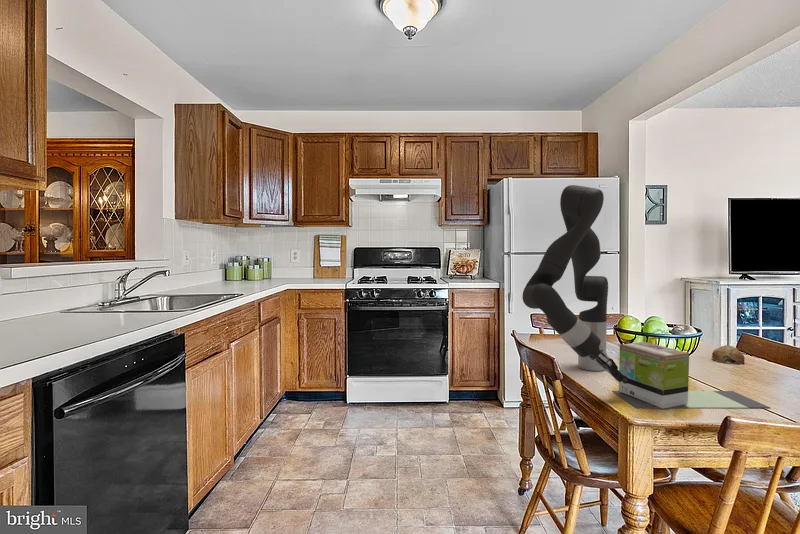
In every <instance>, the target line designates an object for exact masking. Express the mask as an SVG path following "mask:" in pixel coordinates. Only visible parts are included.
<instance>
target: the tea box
mask: <svg viewBox="0 0 800 534" xmlns="http://www.w3.org/2000/svg"><path fill="white" fill-rule="evenodd" d="M618 365H619V366H618V370H619V371H620V372H621V373H622V374H623V375H624V376H625V378H624V379H623V380H622V381H621V382H618V391H619V392H622V393H625V394H628V395H630V396H633V397H635V398H638V399H640V400H643V401H645V402H648V403H650V404H652V405H655V406H657V407H659V408H658V409H670V408H669V407H674V406H680V405H685V404H687V403H688V391H689V380H690V379H689V375H690V352H687V351H683V350H679V349H675V348H671V347H667V346H662V345H658V344H655V343H650V342H646V341H640V342H631V343H623V344H620V343H619V364H618Z"/></svg>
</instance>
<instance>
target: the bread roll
mask: <svg viewBox="0 0 800 534" xmlns="http://www.w3.org/2000/svg"><path fill="white" fill-rule="evenodd" d="M711 359H712V360H713V361H715V362H717V363H721V364H726V365H743V364H745V360H746V359H745V355H744V354H743V352H742V351H740V349H739V348H737V347H735V346H732V345H727V344H726V345H722V346H719V347H717V348H715V349H714V350H713V351H712V352H711Z"/></svg>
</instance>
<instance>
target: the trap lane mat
mask: <svg viewBox="0 0 800 534" xmlns="http://www.w3.org/2000/svg"><path fill="white" fill-rule="evenodd" d="M612 392H613V393H614V394H615V395H616V396H618V397H620V399H623V400H624V401H626V402H627V403H628V404H630V405H631V406H632V407H634V408H635V409H660V408H659V407H657V406H655V405H652V404H650V403H648V402H645V401H643V400H640V399H638V398H635V397H633V396H630V395H628V394H625V393H622V392H619V390H612ZM764 408H770V409H771V407H770V406H768V405H765V404H764V403H761V402H759V401H757V400H754V399H752V398H750V397H748V396H745V395H743V394H740V393H739V392H735V391H734V390H688V403H687V404H685V405H680V406H674V407H669V408H668V409H757V410H758V409H764Z"/></svg>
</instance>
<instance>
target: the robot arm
mask: <svg viewBox="0 0 800 534" xmlns="http://www.w3.org/2000/svg"><path fill="white" fill-rule="evenodd" d="M604 198H605V197H604V192H603V191H602V190H601V189H599V188H596V187H590V186H584V185H576V184H575V185H574V184H573V185H572V184H569V185H567V186H565V187H564V188H563V189H562V192H561V195H560V200H559V202H560V203H559V205H560V206H559V207H560V212H561V216H562V219H563V221H564V224H565V228H566V232H565V233H564V234H562V235H561V236H559V237H558V238H557V239H555V240H554V241H552V242H551V244H550V245H549V246H548V248H547V249H546V250H545V252H544V254H543V256H542V259H541V261H540V263H539V265H538V268H537V269H536V271H535V272H534V273H533V274H532V276H531V277H530V279H529V280H528V281H527V283H526V285H525V287H524V288H523V291H522V296H521V297H522V301H523V304H524V305H525V306H526V307H528V308H529V309H532V310H533V309H534V310H536V309H540V311H542V312H543V313H544V315H545V316H546V322H547V323H548V325H549V326H550V327H551V328H552V329H553V330H554V331H555V332H556V333H558V335H559V336H560V338H561V339H562V340H563V342H564V343H566V344H567V345H568V346H569V347H570V349H572V350H573V352H575V354H577V358H578V361H577V362H578V363H577V366H578V368H580V369H582V370H586V371H593V372H598V371H599V372H600V371H605V372H607V373H608V374H609V375H610V376H612V377H613V379H615V380H616V382H618V383H619V382H621V381H622V380H623V379H624V378H625V376H624V375H623V374H622V373H621V372H620V371H619V366H618V365H617V363H616V362H615V361H614V359H613V358H611V357H609V355H608V353H607V332H608V331H607V328H608V327H607V323H608V321H607V319H608V308H607V307H608V297H609V296H608V295H609V281H608V278H607V277H606V276H604V275H603V276H602V275H587V274H588V273H589V272H590V271H591V270H592V269H594V267H595V266H596V265H597V264H598V262H599V260H600V259H601V254H602V253H601V244H600V239H599V236H598V235H597V234H596V232H595V231H594V230H593V229H592V226H593V224H594V223H595V221H596V219H598V216H599V215H600V213H601V211H602V208H603V205H604V201H605V200H604ZM570 261H571V264H572V269H573V280H574V293H575V296H576V298H577V300H579V301H581V302H593V303H594V302H595V303H596V305H595V306H594V307H592V308H590V309H585V310H581V311H579V314H578V316H576V314H575V313H574V312H572V310H570V308H568V306H567V305H566V303H565V301H564V300H563V298H562V297H561V294H559V292H558V291H557V290H556V289H555V288H554V287H553V285H554V284H555V283H556V282H558V281H560V280H561V279H562V277H563V276H564V273H565V271H566V270H567V267H568V265H569V263H570Z"/></svg>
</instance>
